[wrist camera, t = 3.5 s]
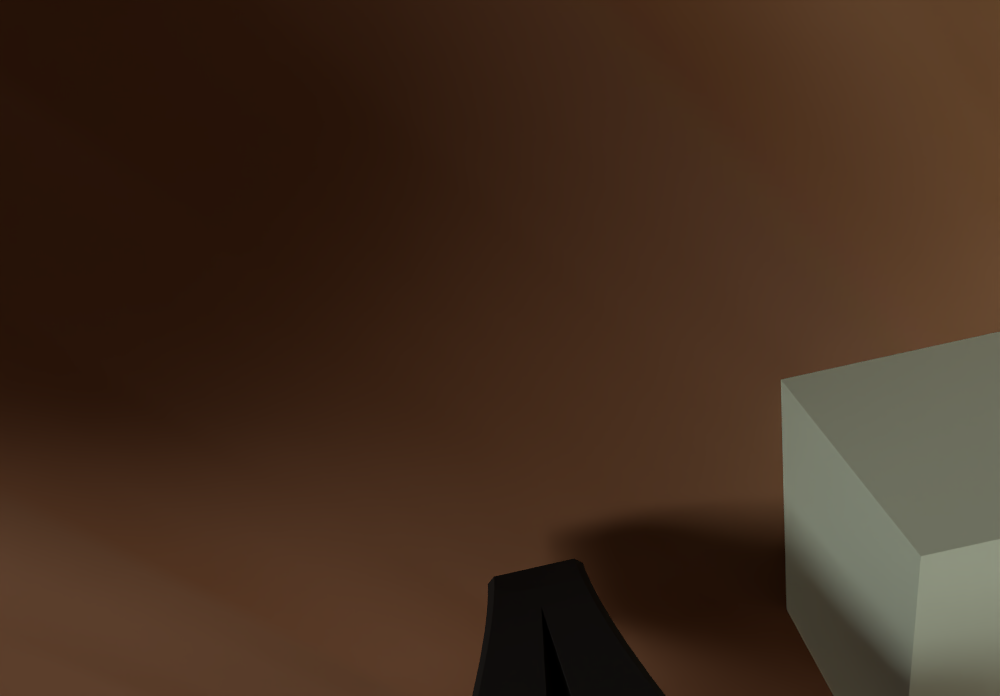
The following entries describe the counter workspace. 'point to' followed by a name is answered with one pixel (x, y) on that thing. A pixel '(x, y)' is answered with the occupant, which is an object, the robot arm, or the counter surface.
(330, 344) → the counter surface
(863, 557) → the block
